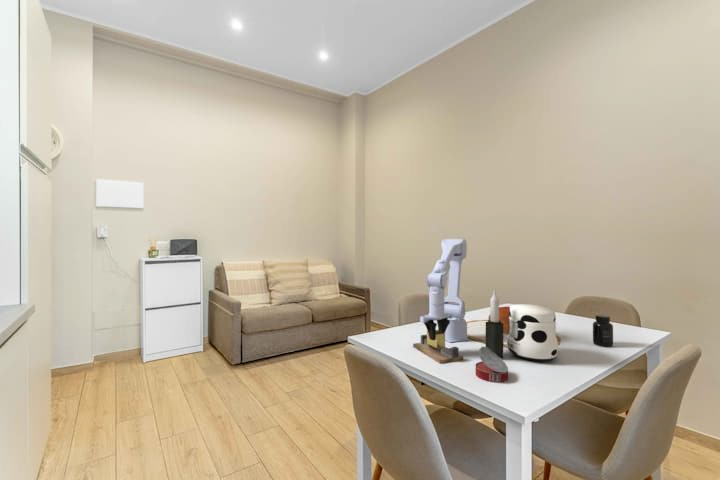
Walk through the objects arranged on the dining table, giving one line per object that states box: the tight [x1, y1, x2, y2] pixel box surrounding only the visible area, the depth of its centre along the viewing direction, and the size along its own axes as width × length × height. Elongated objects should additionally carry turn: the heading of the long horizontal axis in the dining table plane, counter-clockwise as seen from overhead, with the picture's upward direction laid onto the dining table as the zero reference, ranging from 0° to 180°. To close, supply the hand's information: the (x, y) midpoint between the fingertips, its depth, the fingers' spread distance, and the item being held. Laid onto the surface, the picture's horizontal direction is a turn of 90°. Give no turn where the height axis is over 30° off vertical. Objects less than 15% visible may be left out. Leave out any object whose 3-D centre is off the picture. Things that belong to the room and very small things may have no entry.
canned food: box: [475, 346, 509, 384], centre depth 107 cm, size 11×10×10 cm
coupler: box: [426, 329, 446, 348], centre depth 128 cm, size 6×4×6 cm, turn 27°
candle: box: [485, 290, 504, 359], centre depth 123 cm, size 5×5×25 cm
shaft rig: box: [412, 334, 464, 364], centre depth 127 cm, size 10×19×4 cm, turn 20°
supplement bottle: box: [592, 314, 614, 348], centre depth 137 cm, size 7×7×12 cm
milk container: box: [506, 303, 559, 362], centre depth 124 cm, size 17×17×18 cm
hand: (436, 338), depth 127 cm, fingers closed on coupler, 4 cm apart
